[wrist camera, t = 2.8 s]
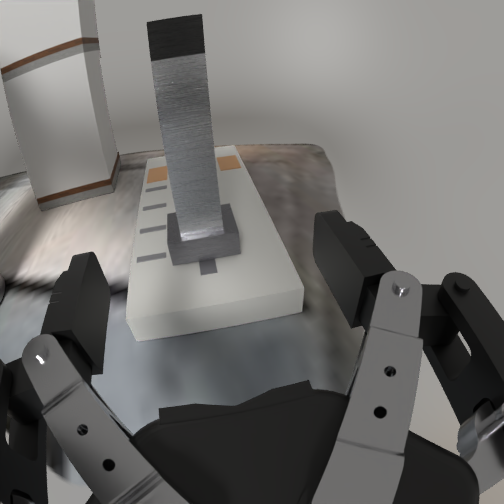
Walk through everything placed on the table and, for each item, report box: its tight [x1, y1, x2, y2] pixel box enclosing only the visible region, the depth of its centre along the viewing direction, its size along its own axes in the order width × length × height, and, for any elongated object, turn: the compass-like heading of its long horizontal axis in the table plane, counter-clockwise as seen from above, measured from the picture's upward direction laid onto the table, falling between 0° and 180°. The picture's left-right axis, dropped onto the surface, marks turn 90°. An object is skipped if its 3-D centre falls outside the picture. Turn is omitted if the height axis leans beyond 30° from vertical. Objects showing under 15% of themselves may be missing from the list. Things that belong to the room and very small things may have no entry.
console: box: [126, 145, 304, 342], centre depth 32 cm, size 12×28×3 cm, turn 12°
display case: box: [0, 0, 121, 211], centre depth 32 cm, size 11×11×35 cm
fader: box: [147, 14, 241, 266], centre depth 20 cm, size 5×4×16 cm
